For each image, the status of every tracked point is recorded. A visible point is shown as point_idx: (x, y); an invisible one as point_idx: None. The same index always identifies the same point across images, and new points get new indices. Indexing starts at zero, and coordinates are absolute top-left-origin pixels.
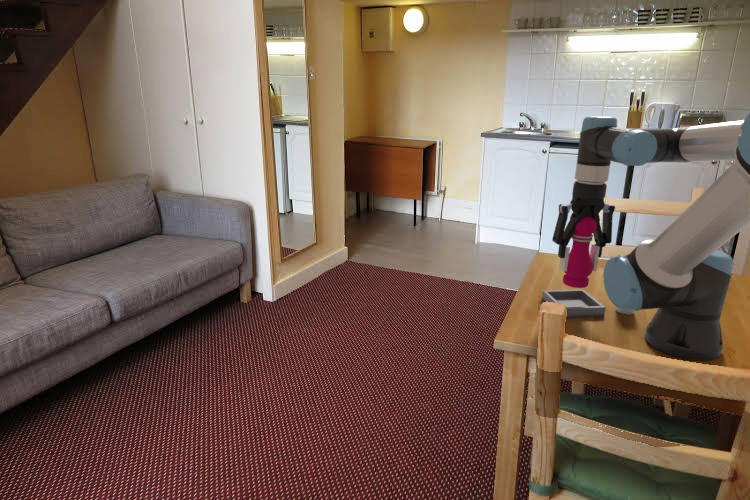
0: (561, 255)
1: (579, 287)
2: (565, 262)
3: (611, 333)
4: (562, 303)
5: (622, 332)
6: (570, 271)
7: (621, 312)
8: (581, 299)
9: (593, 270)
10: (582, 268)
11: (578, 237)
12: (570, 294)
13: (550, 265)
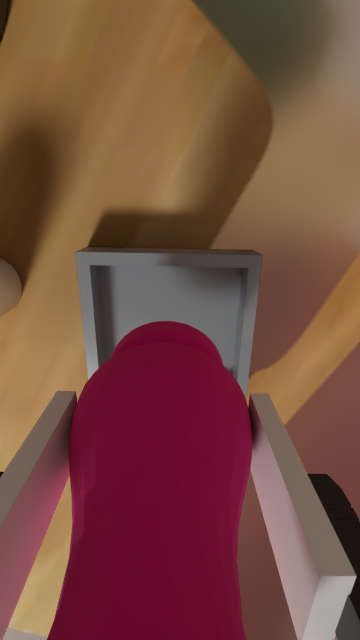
0: (336, 495)
1: (174, 321)
2: (284, 436)
3: (126, 92)
4: None
5: (77, 97)
6: (236, 381)
7: (9, 266)
8: None
9: (74, 391)
10: (178, 367)
11: None
12: None
13: None
